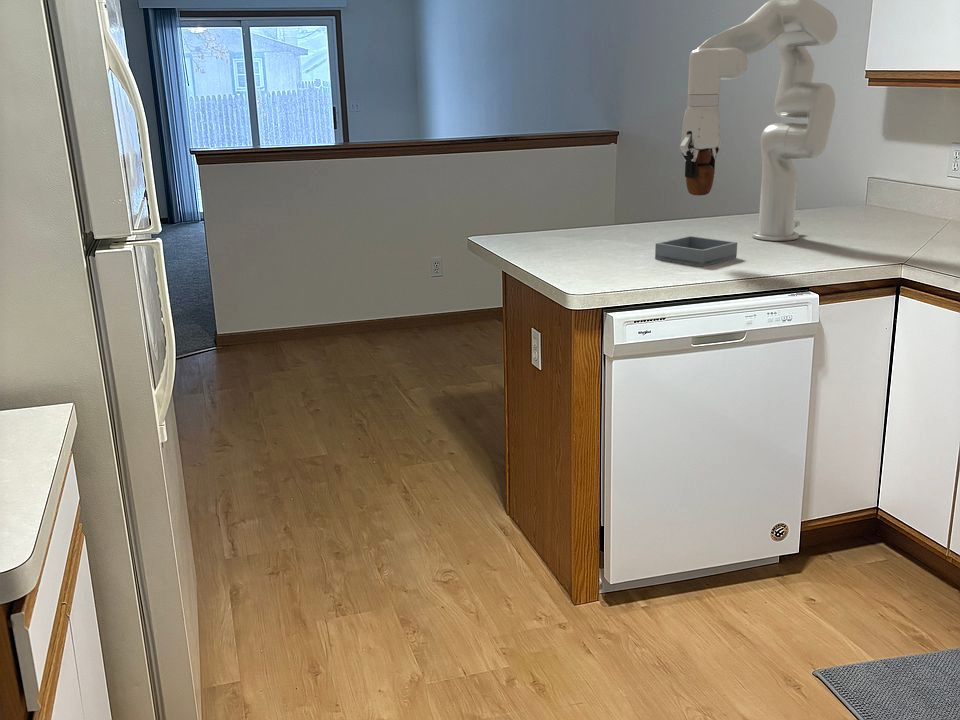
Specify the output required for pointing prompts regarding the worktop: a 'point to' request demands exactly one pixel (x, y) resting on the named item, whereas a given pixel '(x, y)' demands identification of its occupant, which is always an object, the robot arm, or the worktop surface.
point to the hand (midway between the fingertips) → (699, 175)
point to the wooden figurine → (701, 175)
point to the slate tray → (696, 250)
